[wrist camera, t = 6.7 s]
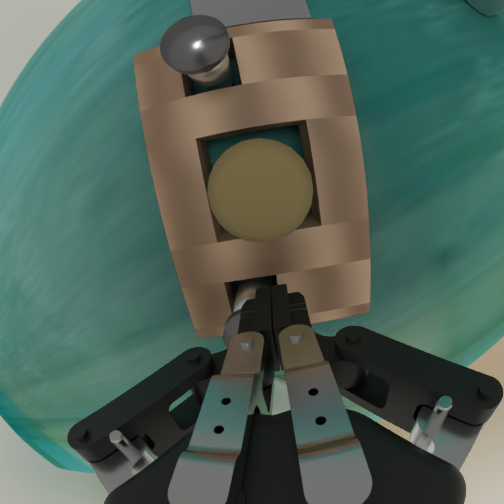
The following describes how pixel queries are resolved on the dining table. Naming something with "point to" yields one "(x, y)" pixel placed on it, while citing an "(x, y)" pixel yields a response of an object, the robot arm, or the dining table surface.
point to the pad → (251, 10)
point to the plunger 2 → (244, 292)
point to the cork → (260, 190)
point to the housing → (252, 120)
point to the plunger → (199, 51)
